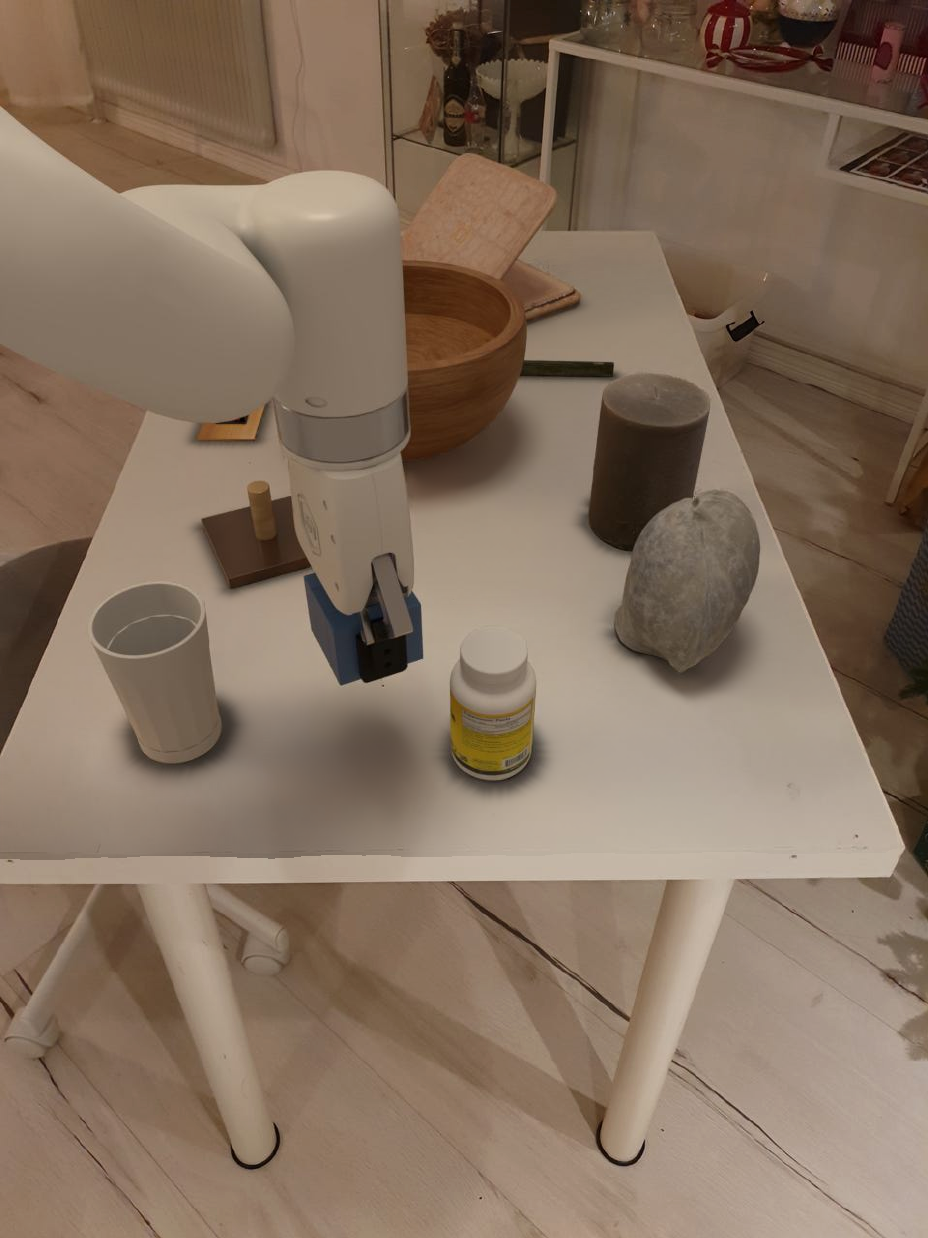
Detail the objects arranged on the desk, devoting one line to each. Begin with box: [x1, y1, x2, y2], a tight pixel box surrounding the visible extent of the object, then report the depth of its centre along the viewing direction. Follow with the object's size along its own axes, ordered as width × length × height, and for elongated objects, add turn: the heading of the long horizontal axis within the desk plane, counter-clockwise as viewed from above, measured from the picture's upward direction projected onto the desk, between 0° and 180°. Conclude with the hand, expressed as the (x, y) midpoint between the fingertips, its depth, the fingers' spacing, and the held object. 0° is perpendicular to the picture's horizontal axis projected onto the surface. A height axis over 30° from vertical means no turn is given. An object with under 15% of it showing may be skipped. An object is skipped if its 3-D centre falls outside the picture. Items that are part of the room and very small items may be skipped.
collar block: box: [303, 572, 424, 687], centre depth 66 cm, size 6×6×5 cm
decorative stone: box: [614, 489, 761, 673], centre depth 79 cm, size 15×10×15 cm
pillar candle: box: [587, 371, 712, 552], centre depth 91 cm, size 10×10×15 cm
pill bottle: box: [449, 625, 537, 781], centre depth 71 cm, size 6×6×11 cm
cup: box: [87, 580, 223, 764], centre depth 72 cm, size 8×8×12 cm
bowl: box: [400, 260, 528, 462], centre depth 102 cm, size 25×25×15 cm
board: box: [196, 404, 266, 442], centre depth 111 cm, size 6×12×2 cm, turn 0°
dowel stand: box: [200, 480, 312, 589], centre depth 91 cm, size 10×10×7 cm
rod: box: [520, 359, 615, 377], centre depth 117 cm, size 31×1×2 cm, turn 88°
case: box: [401, 152, 581, 321], centre depth 128 cm, size 20×21×16 cm
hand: (365, 640), depth 67 cm, fingers closed on collar block, 6 cm apart
